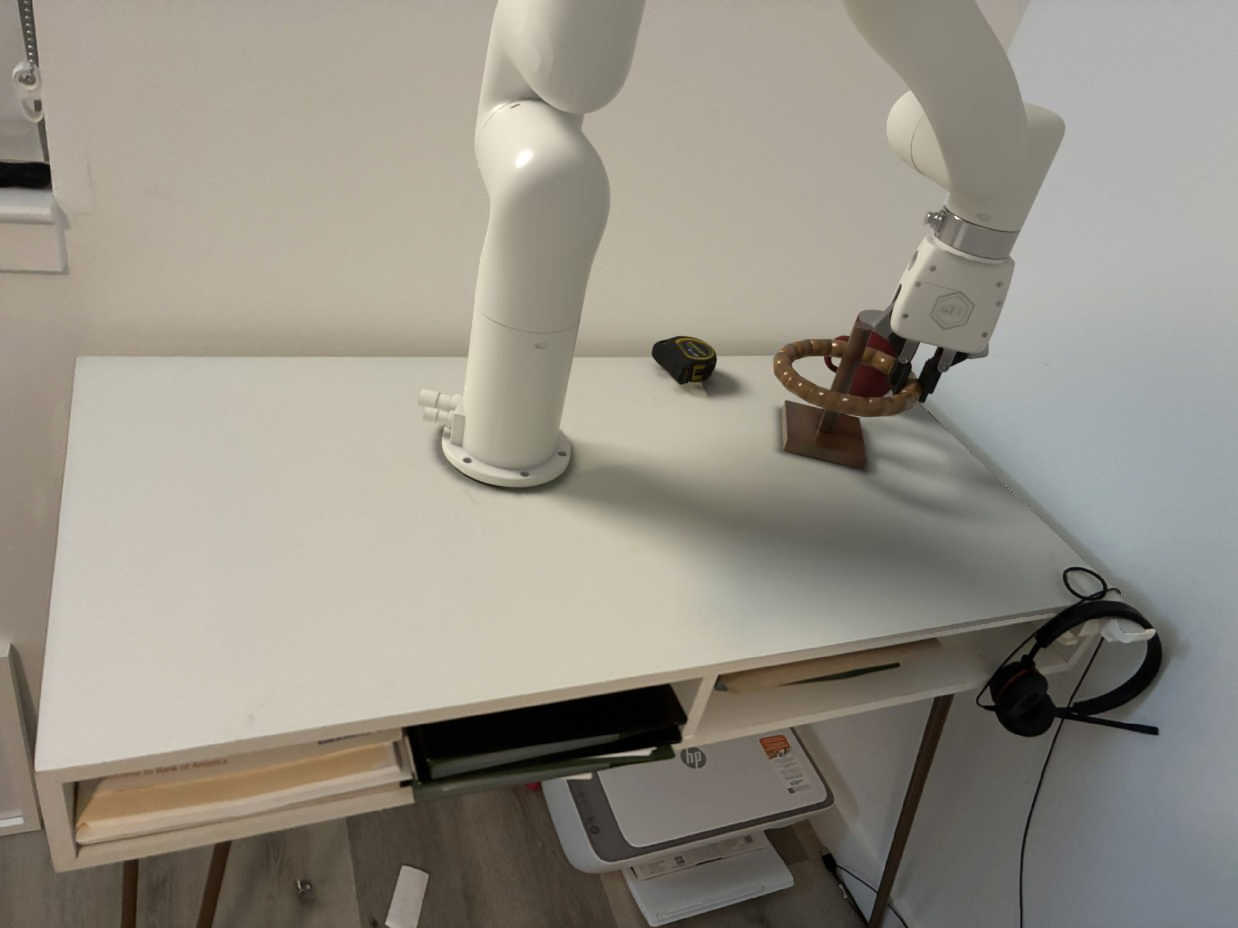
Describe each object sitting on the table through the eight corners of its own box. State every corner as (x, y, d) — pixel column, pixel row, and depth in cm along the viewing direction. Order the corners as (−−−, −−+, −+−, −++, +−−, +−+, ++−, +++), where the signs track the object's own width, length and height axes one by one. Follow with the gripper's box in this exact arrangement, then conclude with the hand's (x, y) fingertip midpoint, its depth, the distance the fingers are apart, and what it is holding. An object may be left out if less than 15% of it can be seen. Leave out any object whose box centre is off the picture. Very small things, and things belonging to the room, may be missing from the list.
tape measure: (646, 362, 112) (652, 335, 110) (692, 358, 115) (699, 331, 113) (674, 391, 107) (681, 364, 105) (721, 386, 110) (729, 359, 108)
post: (783, 450, 101) (825, 334, 93) (781, 410, 109) (820, 299, 101) (862, 469, 101) (911, 354, 93) (855, 427, 109) (900, 318, 101)
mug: (824, 407, 111) (852, 334, 106) (804, 374, 118) (829, 303, 112) (903, 415, 114) (934, 344, 108) (879, 382, 120) (907, 313, 115)
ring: (773, 406, 94) (777, 388, 93) (770, 343, 108) (773, 327, 107) (929, 431, 94) (935, 413, 93) (905, 364, 107) (910, 348, 106)
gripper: (901, 229, 87) (838, 393, 97) (1064, 267, 87) (984, 428, 97) (891, 204, 93) (833, 361, 104) (1043, 240, 93) (970, 394, 104)
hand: (906, 392), depth 100 cm, fingers closed on ring, 2 cm apart
